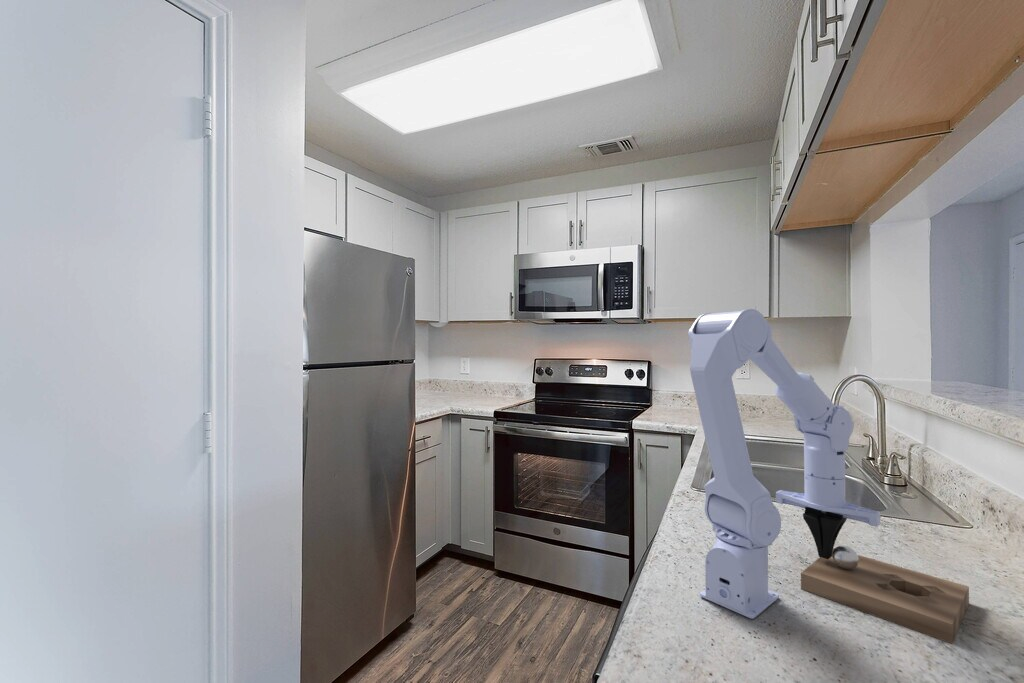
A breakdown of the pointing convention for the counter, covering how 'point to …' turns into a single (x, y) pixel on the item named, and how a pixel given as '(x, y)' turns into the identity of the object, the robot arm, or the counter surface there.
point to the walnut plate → (892, 594)
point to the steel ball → (845, 557)
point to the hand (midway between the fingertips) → (825, 556)
